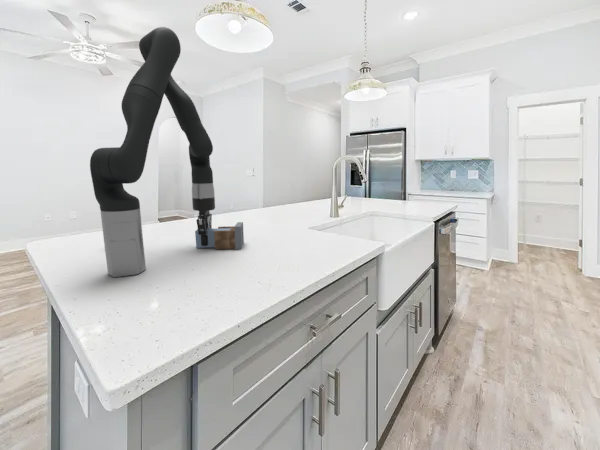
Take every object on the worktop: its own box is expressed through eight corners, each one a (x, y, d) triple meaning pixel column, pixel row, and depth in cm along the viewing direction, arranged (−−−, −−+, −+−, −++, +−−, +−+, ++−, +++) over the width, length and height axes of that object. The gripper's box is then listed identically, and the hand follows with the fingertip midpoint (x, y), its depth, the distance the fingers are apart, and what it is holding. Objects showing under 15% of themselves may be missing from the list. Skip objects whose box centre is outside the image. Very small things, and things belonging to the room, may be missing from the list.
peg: (196, 247, 111) (195, 231, 110) (198, 245, 115) (197, 228, 114) (230, 246, 112) (229, 230, 111) (232, 244, 116) (231, 228, 115)
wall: (235, 249, 110) (234, 226, 108) (238, 243, 118) (237, 222, 117) (241, 249, 110) (240, 226, 108) (243, 243, 119) (243, 222, 117)
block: (215, 249, 109) (214, 231, 108) (219, 242, 118) (218, 226, 117) (235, 248, 110) (234, 231, 108) (238, 242, 118) (237, 226, 117)
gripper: (197, 194, 117) (199, 239, 120) (186, 198, 103) (190, 249, 106) (217, 194, 117) (219, 239, 120) (210, 198, 103) (212, 248, 107)
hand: (206, 243), depth 113 cm, fingers closed on peg, 3 cm apart
